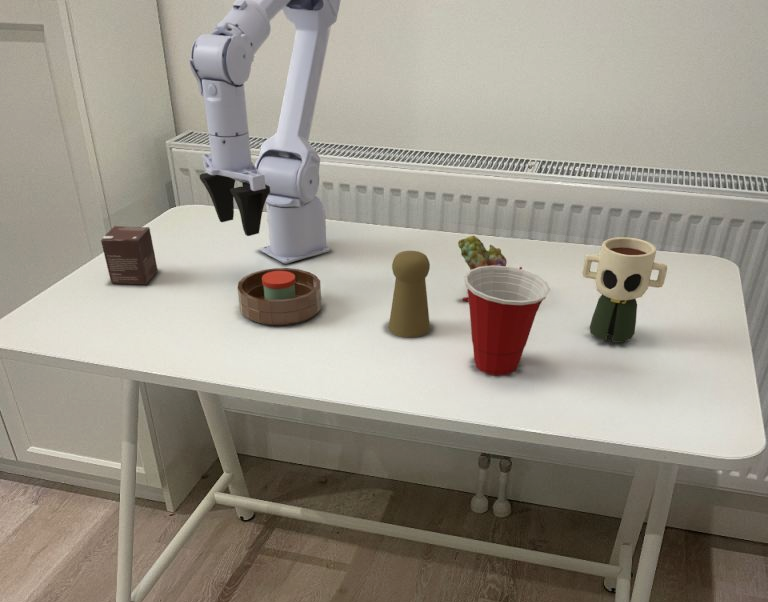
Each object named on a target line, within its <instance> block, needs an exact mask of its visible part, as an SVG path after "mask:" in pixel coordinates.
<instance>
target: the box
mask: <svg viewBox="0 0 768 602" xmlns="http://www.w3.org/2000/svg"><path fill="white" fill-rule="evenodd" d="M100 243H101V245H102V250H103V251H102V252H103V255H104V259H105V263H106V268H107V272H108V275H109V279H110V283H111V284H121V285H123V284H124V285H125V284H127V285H148V283H149V282H150V281H151V280H152V278H153V277H154V275H155V274H157V272H158V265H157V264H158V263H157V260H156V254H155V249H154V245H153V238H152V234H151V229H150V227H149V226H146V227H145V226H118V225H114V226H113V227H112V228H111V229H110V230H109V231H108V232H107V233H106V234H104V236H103V237H102V238H101V239H100Z"/></svg>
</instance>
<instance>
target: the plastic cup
mask: <svg viewBox="0 0 768 602" xmlns="http://www.w3.org/2000/svg"><path fill="white" fill-rule="evenodd" d="M463 278H464V283H465V287H466V289H467V297H468V300H467V302H468V307H469V320H470V332H471V342H472V351H473V360H474V364H475V368H476V369H477V370H478V371H480V372H481V373H484V374H487V375H492V376H506V375H511V374H512V373H514V372H516V371H517V369H518V368H519V367H518V366H519V365H520V362H521V360H522V356H523V353H524V349H525V348H526V346H527V342H528V339H529V336H530V334H531V331H532V327H533V324H534V322H535V318H536V315H537V312H538V311H539V309H540V306H541V304H542V303H543V301H544V300H546V298H547V296H548V295H549V293H550V291H551V288H550V286H549V284H548V282H547V281H546V280H545V279H544V278H542V277H540V276H539V275H537V274H535V273H532V272H530V271H528V270H526V269H523V268H522V269H519V268H517V267H513V266H507V265H506V266H483V267H478V268H475V269H472V270H470V269H469V270H468V271H467V272H466V274H465V275H464V276H463Z"/></svg>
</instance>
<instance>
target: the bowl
mask: <svg viewBox="0 0 768 602" xmlns="http://www.w3.org/2000/svg"><path fill="white" fill-rule="evenodd" d="M272 271H287V272H291V273H293V274H294V275H295V296H296V298H291V299H285V300H268V299H265V295H264V285H263V284H262V276H263V275H264V274H266V273H269V272H272ZM321 286H322V285H321V279H319V277H318V276H317V275H315V274H314V273H312V272H310V271H306V270H302V269H299V268H290V267H280V268H279V267H275V268H267V269H261V270H257V271H254V272H251V273H249V274H247V275H245V276H244V277H242V278H241V279H240V280H239V281H238V283H237V288H236V289H237V295H238V305H239V311H240V312H241V314H242V315H243V317H246V318H247V319H248V320H250V321H253V322H255V323H257V324H261V325H267V326H289V325H290V326H291V325H295V324H299V323H303V322H305V321H307V320H309V319H311V318H313V317H314V316H315V315H317V314H318V313H319V312H320V310H321V309H322V287H321Z"/></svg>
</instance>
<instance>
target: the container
mask: <svg viewBox="0 0 768 602" xmlns="http://www.w3.org/2000/svg"><path fill="white" fill-rule="evenodd" d="M262 284H263V285H264V295H265V299H268V300H285V299H291V298H296V296H295V275H294V274H293V273H291V272H287V271H272V272H269V273H266V274H264V275H263V276H262Z"/></svg>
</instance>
